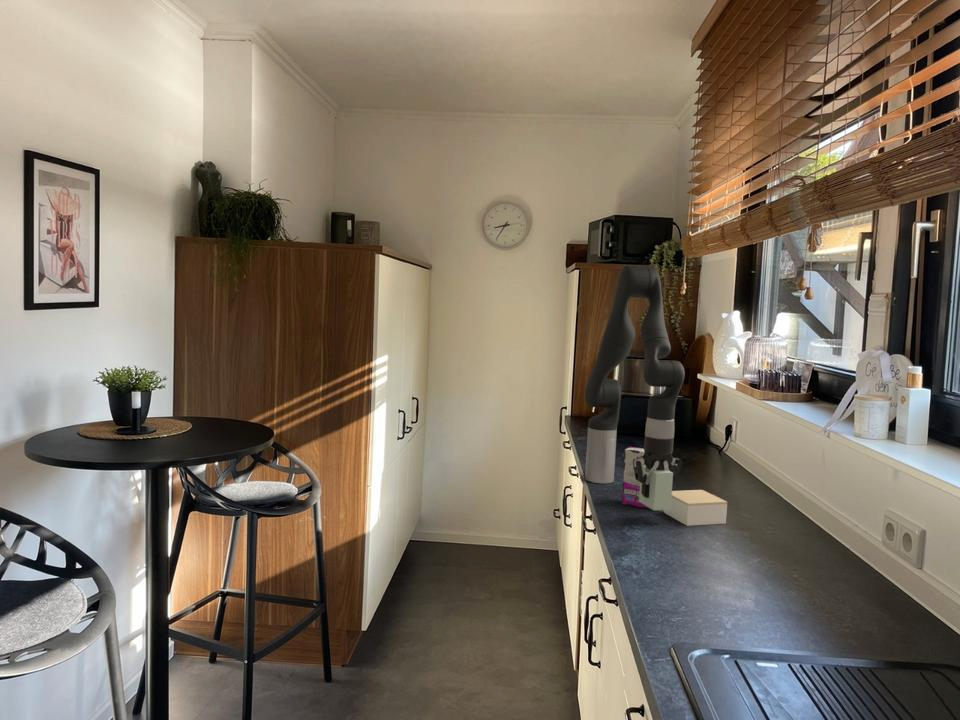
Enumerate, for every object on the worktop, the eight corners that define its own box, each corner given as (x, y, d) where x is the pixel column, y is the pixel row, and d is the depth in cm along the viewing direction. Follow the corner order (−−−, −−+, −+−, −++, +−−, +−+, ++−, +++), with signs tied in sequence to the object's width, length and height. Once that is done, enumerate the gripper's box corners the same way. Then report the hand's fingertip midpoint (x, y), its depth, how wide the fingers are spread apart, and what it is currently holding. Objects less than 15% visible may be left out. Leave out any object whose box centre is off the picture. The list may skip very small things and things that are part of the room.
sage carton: (638, 501, 201) (641, 465, 200) (655, 500, 203) (657, 465, 202) (653, 510, 194) (656, 473, 192) (670, 509, 195) (673, 472, 194)
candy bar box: (663, 506, 212) (667, 451, 211) (659, 511, 208) (663, 454, 206) (625, 500, 217) (629, 445, 216) (620, 504, 213) (624, 448, 211)
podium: (663, 512, 207) (664, 491, 206) (700, 510, 210) (702, 489, 210) (686, 525, 195) (688, 503, 195) (725, 523, 199) (727, 501, 198)
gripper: (675, 431, 202) (671, 491, 203) (628, 432, 197) (624, 493, 199) (690, 437, 194) (686, 499, 196) (642, 438, 190) (637, 502, 192)
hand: (655, 496), depth 198 cm, fingers closed on sage carton, 5 cm apart
